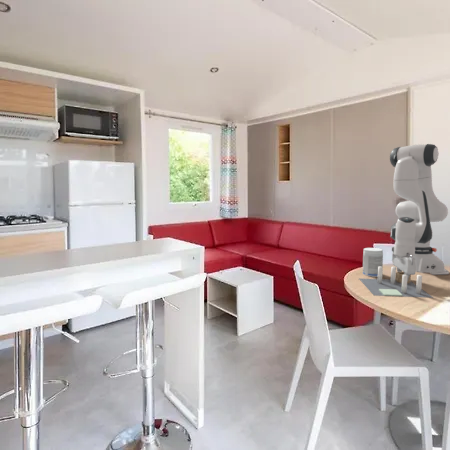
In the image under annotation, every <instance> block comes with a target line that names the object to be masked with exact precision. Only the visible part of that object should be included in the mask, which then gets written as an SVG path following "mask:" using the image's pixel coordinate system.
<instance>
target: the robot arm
mask: <svg viewBox="0 0 450 450" xmlns="http://www.w3.org/2000/svg"><path fill="white" fill-rule="evenodd" d="M438 159H439V149H438V146H436V145H435V144H433V143H432V144H431V143H427V144H411V145H406V146H397V147H394V148H393V149H392V150H391V151H390V153H389V162H390V164H391V166H392V167H394V173H393V180H392V181H393V183H392V184H393V185H392V186H393V192H394V194H396V196H398V197H400V198H401V199H403V200H406V201H399V203H397V205H396V207H395V215H396V216H397V221H396V222H395V223H393V224H392V225H391V226H390V235H389V237H390V239H392V240H394V241H395V242H394V246H392V247H391V252H392V253H391V254H392V259H391V261H392V265H393V267H396V272H404V274H405V275H408V277H407V281H408V278H409V276H410V275H411V276H414V275H415V274H416V273H421V274H425V273H427V274H430V275H432V276H433V275H435V276H436V275H449V274H450V271H449V270H448V269H446V268H445V262H444V261H443V260H442V259H441V258H440V257H438V256H437V255H435V254H434V253H436V252H437V251H438V249H437V248H435V247H432V246H431V240H432V239H433V229H432V224H431V223H437V222H443V221H444V220H445V219H446V218H447V217H448V215H449V209H448V207H447V204H445V203H443V202H442V201H440V199H438V197H437V196H436V194H435V193H434V192H435V191H434V189H433V178H432V177H433V176H432V175H433V174H432V165H434V164H435V163H437V162H438Z"/></svg>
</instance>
